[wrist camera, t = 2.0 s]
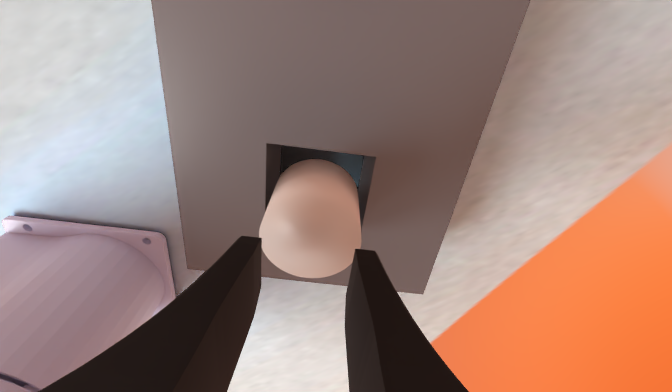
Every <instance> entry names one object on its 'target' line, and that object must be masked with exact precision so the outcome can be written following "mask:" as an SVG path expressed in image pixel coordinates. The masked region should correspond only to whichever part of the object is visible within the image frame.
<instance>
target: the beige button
mask: <svg viewBox="0 0 672 392" xmlns="http://www.w3.org/2000/svg"><path fill="white" fill-rule="evenodd" d="M259 238H262V250H263V252H264V253H265V255H266V256H267V258H268V259H269V260H270V261H271V262H272V263H273V264H274V265H275V266H277V267H278V268H280V269H281V270H283V271H285V272H287V273H289V274H292V275H295V276H299V277H304V278H322V277H327V276H331V275H334V274H337V273H339V272H341V271H342V270H344V269H346V268H347V267H348V266H349V265H350V264H351V263H352V262H353V258H354V253H355V249H360V247H361V225H360V211H359V198H358V190H357V186H356V183H355V182H354V180H353V178H352V177H351V175H350V174H349V173H348V172H347V171H346V170H345V169H343V168H342V167H341V166H339V165H337V164H335V163H333V162H330V161H327V160H322V159H308V160H303V161H300V162H297V163H295V164H293V165H291V166H290V167H288V168H287V169H286V170H285V171H284V172H283V173H282V174H281V176H280V177H279V179H278V181H277V183H276V186H275V189H274V191H273V194H272V196H271V199H270V202H269V204H268V207H267V209H266V212H265V215H264V217H263V220H262V222H261V225H260V229H259Z"/></svg>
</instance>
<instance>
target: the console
mask: <svg viewBox="0 0 672 392" xmlns="http://www.w3.org/2000/svg"><path fill="white" fill-rule="evenodd" d="M151 2H152V10H153V17H154V25H155V32H156V39H157V47H158V54H159V62H160V69H161V76H162V84H163V91H164V99H165V106H166V113H167V121H168V128H169V135H170V143H171V150H172V158H173V165H174V172H175V180H176V187H177V195H178V202H179V209H180V217H181V224H182V232H183V239H184V246H185V254H186V261H187V268H188V269H195V270H204V271H206V270H207V269H209V268H210V267H211V266H212V265H213V264H214V263H215V262H216V261H217V260H218V259H219V258H220V257H221V256H222V255H223V254H224V253H225V252H226V251H227V250H228V249H229V247H230V246H231V245H232V244H233V243H234V242H235V241H236V240H237V239H238V238H239V237H241V236H250V237H258V238H259V229H260V225H261V222H262V220H263V217H264V215H265V212H266V209H267V207H268V204H269V202H270V199H271V196H272V194H273V191H274V189H275V186H276V183H277V181H278V179H279V177H280V168H281V146H282V145H285V146H293V147H301V148H309V149H317V150H325V151H333V152H341V153H349V154H357V155H364V160H363V165H362V170H361V176H360V181H359V187H358V198H359V211H360V225H361V247H360V249H364V250H373V251H375V252H376V253H377V254H378V256H379V259H380V261H381V263H382V265H383V267H384V269H385V271H386V273H387V275H388V277H389V279H390V281H391V282H392V284H393V286H394V288H395V290H396V291H397V292H407V293H416V294H423V293H424V290H425V287H426V285H427V282H428V279H429V276H430V274H431V271H432V268H433V265H434V263H435V260H436V257H437V254H438V252H439V249H440V246H441V244H442V241H443V238H444V235H445V233H446V230H447V227H448V224H449V222H450V219H451V216H452V213H453V211H454V208H455V205H456V202H457V200H458V197H459V194H460V191H461V189H462V186H463V183H464V180H465V178H466V175H467V172H468V169H469V167H470V164H471V161H472V159H473V156H474V153H475V150H476V148H477V145H478V142H479V139H480V137H481V134H482V131H483V128H484V126H485V123H486V120H487V117H488V115H489V112H490V109H491V106H492V104H493V101H494V98H495V95H496V93H497V90H498V87H499V84H500V82H501V79H502V76H503V74H504V71H505V68H506V65H507V63H508V60H509V57H510V54H511V52H512V49H513V46H514V43H515V41H516V38H517V35H518V32H519V30H520V27H521V24H522V21H523V19H524V16H525V13H526V10H527V8H528V5H529V2H530V0H151ZM352 263H353V262H352ZM352 263H351V264H350V265H349V266H348V267H347V268H346V269H344V270H342V271H341V272H339V273H337V274H334V275H331V276H327V277H322V278H304V277H299V276H295V275H292V274H289V273H287V272H285V271H283V270H281V269H280V268H278V267H277V266H275V265H274V264H273V263H272V262H271V261H270V260H269V259H268V258H267V256H266V255H265V253H264V252H263V250H262V256H261V277H269V278H278V279H287V280H296V281H305V282H315V283H324V284H333V285H342V286H348V283H349V278H350V273H351V268H352Z"/></svg>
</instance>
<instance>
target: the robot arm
mask: <svg viewBox="0 0 672 392" xmlns="http://www.w3.org/2000/svg"><path fill="white" fill-rule="evenodd" d="M2 225H3V227H4V230H5V232H6V233H5V234H3V235H2V236H0V392H227V390H228V387H229V384H230V381H231V379H232V376H233V373H234V370H235V368H236V365H237V362H238V359H239V357H240V354H241V351H242V348H243V346H244V343H245V340H246V337H247V334H248V332H249V329H250V326H251V323H252V320H253V318H254V314H255V310H256V306H257V301H258V297H259V293H260V289H261V256H262V238H258V237H250V236H241V237H239V238H238V239H237V240H236V241H235V242H234V243H233V244H232V245H231V246H230V247H229V249H228V250H227V251H226V252H225V253H224V254H223V255H222V256H221V257H220V258H219V259H218V260H217V261H216V262H215V263H214V264H213V265H212V266H211V267H210V268H209V269H207V270H206V271H205V272H204V273H203V274H202V275H201V276H200V277H199V278H198V279H197V280H196V281H195V282H194V283H193V284H191V285H190V286H189V287H188V288H187V289H186V290H184V291H183V292H182V293H181V294H180V295H179V296H177V297H176V295H175V289H174V283H173V278H172V272H171V266H170V260H169V254H168V248H167V242H166V238H165V236H164V235H163V234H161V233H158V232H152V231H143V230H134V229H125V228H117V227H108V226H99V225H90V224H81V223H72V222H64V221H55V220H46V219H37V218H28V217H19V216H8V217H6V218H5V219H3V220H2ZM147 238H148V239H150V240H148V239H147ZM345 336H346V351H347V364H348V378H349V392H468V390H467V389H466V388H465V387H464V386H463V385H462V383H461V382H460V381H459V380H458V379H457V378H456V376H455V375H454V374H453V373H452V371H451V370H450V369H449V368H448V367H447V365H446V364H445V363H444V361H443V360H442V359H441V357H440V356H439V355H438V354H437V352H436V351H435V350H434V348H433V347H432V345H431V344H430V343H429V341H428V340H427V339H426V337H425V336H424V334H423V333H422V331H421V330H420V328H419V327H418V325H417V324H416V322H415V321H414V319H413V318H412V316H411V315H410V313H409V312H408V310H407V308H406V307H405V305H404V303H403V302H402V300H401V298H400V297H399V295H398V293H397V291H396V290H395V288H394V286H393V284H392V282H391V281H390V279H389V277H388V275H387V273H386V271H385V269H384V267H383V265H382V263H381V261H380V259H379V256H378V254H377V253H376V252H375V251H373V250H364V249H355V253H354V258H353V263H352V268H351V273H350V278H349V283H348V288H347V293H346V307H345Z"/></svg>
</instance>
